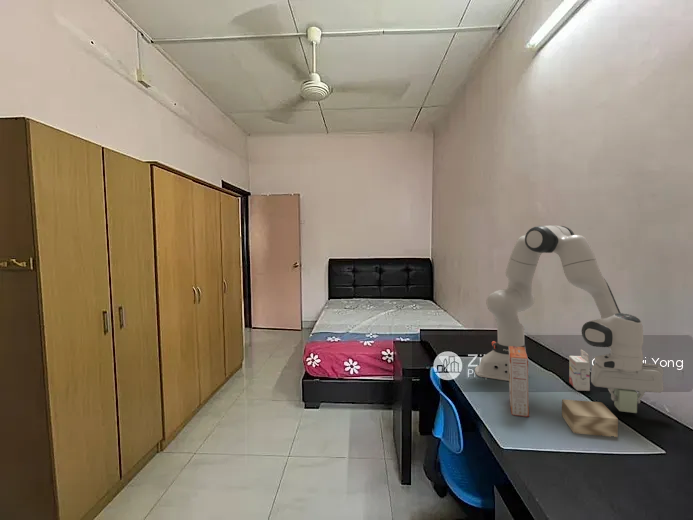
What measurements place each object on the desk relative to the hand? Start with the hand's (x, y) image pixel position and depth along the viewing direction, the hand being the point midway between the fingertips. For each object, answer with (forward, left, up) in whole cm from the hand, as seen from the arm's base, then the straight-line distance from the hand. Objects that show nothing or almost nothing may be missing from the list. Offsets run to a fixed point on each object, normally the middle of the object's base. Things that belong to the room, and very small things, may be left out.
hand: (625, 401), depth 129 cm
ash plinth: (-14, -13, -5) cm, 20 cm away
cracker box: (-34, -5, -5) cm, 35 cm away
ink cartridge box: (-9, +23, -5) cm, 25 cm away
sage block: (0, 0, -3) cm, 3 cm away
